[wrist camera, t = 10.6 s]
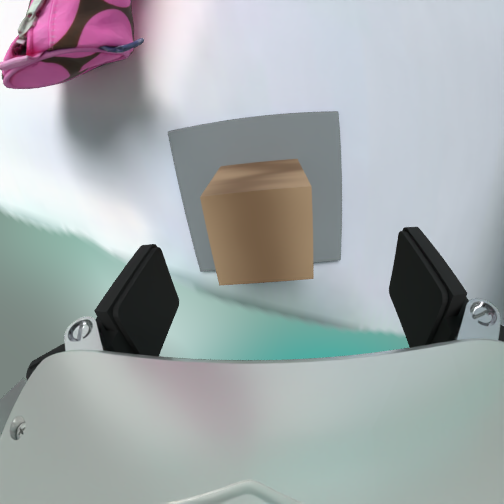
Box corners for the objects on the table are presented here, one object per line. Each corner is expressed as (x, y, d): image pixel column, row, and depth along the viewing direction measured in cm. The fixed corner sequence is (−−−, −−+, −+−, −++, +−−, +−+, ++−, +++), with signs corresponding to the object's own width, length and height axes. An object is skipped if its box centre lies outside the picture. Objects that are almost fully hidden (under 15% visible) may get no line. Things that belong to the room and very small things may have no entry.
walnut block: (297, 158, 17) (311, 186, 12) (301, 228, 19) (313, 278, 14) (220, 166, 17) (200, 197, 12) (231, 233, 20) (219, 285, 15)
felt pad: (336, 111, 15) (338, 111, 15) (339, 256, 21) (340, 260, 21) (170, 130, 17) (167, 132, 16) (201, 267, 22) (200, 271, 22)
